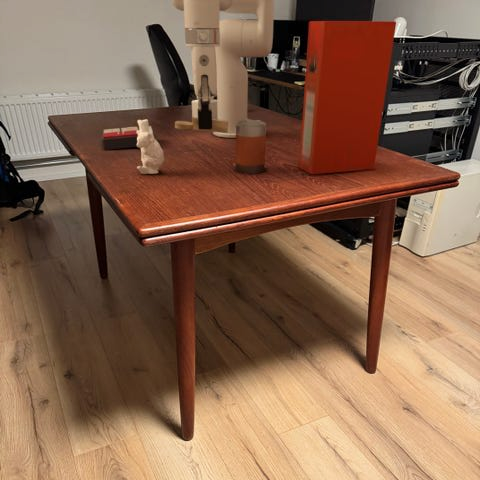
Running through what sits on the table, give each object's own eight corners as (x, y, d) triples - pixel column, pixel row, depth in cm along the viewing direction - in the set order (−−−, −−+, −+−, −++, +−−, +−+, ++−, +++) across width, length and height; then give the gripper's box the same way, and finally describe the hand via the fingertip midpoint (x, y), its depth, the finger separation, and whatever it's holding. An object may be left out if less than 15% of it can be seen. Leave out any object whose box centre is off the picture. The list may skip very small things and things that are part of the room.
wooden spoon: (226, 130, 116) (227, 119, 115) (227, 134, 113) (229, 122, 111) (174, 125, 114) (175, 113, 113) (174, 129, 111) (175, 117, 109)
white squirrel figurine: (132, 169, 120) (127, 118, 113) (158, 166, 122) (154, 116, 116) (141, 178, 113) (135, 125, 107) (168, 175, 116) (164, 123, 109)
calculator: (101, 128, 143) (152, 124, 145) (104, 143, 145) (154, 138, 148) (101, 136, 134) (154, 131, 136) (104, 152, 136) (156, 147, 139)
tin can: (256, 164, 124) (257, 118, 118) (269, 171, 119) (271, 124, 113) (230, 168, 122) (230, 121, 115) (243, 175, 116) (244, 127, 110)
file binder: (298, 166, 123) (309, 20, 106) (357, 161, 128) (377, 20, 110) (312, 175, 117) (325, 21, 99) (373, 169, 121) (397, 21, 104)
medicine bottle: (219, 121, 172) (219, 84, 166) (208, 124, 167) (207, 87, 160) (203, 119, 175) (202, 83, 169) (192, 122, 170) (190, 85, 164)
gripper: (222, 40, 97) (223, 134, 107) (217, 37, 110) (218, 121, 120) (185, 39, 96) (190, 135, 106) (184, 37, 110) (188, 122, 120)
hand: (205, 127), depth 113 cm, fingers closed on wooden spoon
